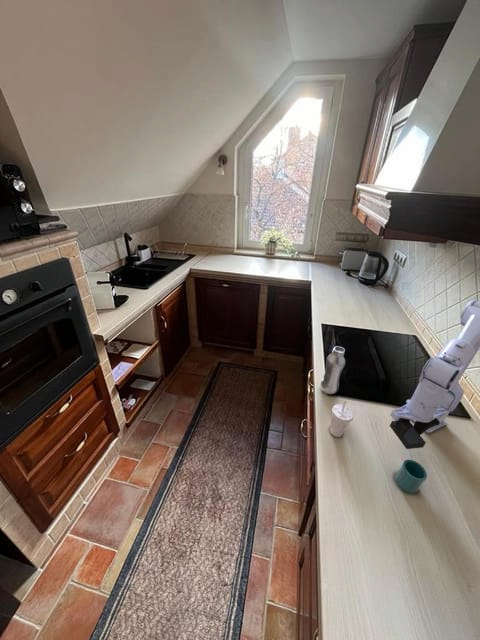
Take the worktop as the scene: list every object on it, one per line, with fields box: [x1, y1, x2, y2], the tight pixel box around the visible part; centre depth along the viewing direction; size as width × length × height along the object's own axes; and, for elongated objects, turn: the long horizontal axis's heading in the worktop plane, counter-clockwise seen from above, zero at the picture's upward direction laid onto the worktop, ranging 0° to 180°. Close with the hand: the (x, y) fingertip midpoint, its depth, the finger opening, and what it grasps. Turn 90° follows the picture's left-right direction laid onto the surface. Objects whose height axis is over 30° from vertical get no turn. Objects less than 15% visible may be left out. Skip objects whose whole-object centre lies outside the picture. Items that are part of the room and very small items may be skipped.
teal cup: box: [394, 459, 428, 495], centre depth 68 cm, size 5×5×6 cm
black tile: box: [389, 420, 427, 450], centre depth 72 cm, size 8×5×2 cm, turn 7°
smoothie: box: [329, 399, 355, 438], centre depth 80 cm, size 6×6×14 cm
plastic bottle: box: [320, 345, 346, 395], centre depth 95 cm, size 6×7×20 cm
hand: (407, 433), depth 72 cm, fingers closed on black tile, 5 cm apart
